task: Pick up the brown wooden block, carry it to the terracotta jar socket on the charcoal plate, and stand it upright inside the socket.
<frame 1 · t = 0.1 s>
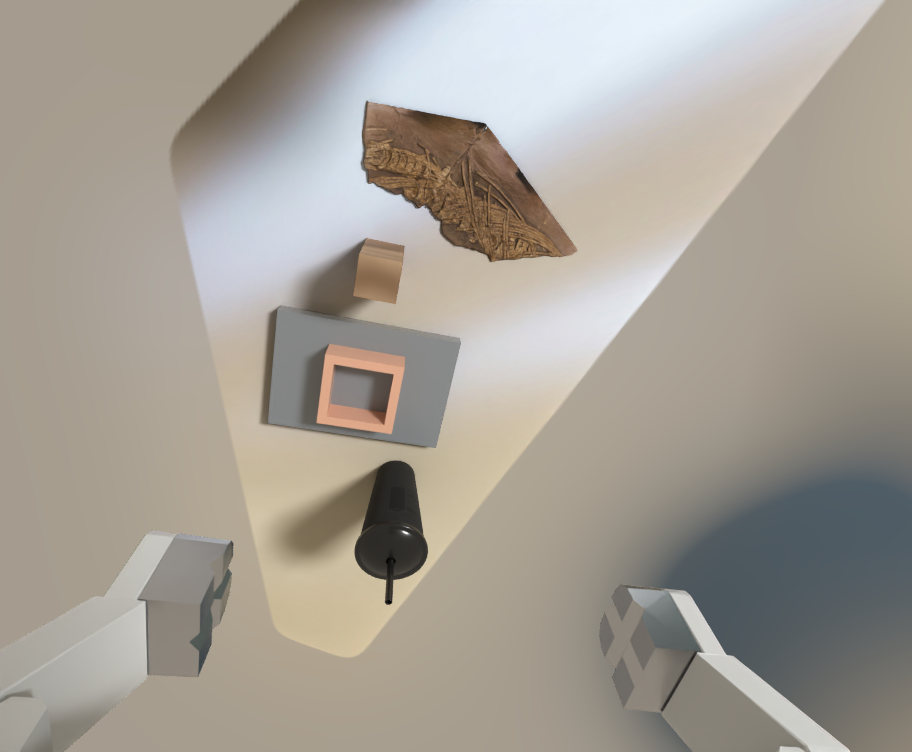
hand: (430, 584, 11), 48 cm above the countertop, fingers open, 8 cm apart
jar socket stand: (363, 378, 61), on the countertop
drinking cup: (395, 475, 67), on the countertop
brown wooden block: (382, 260, 56), on the countertop
wooden fragment: (474, 189, 54), on the countertop
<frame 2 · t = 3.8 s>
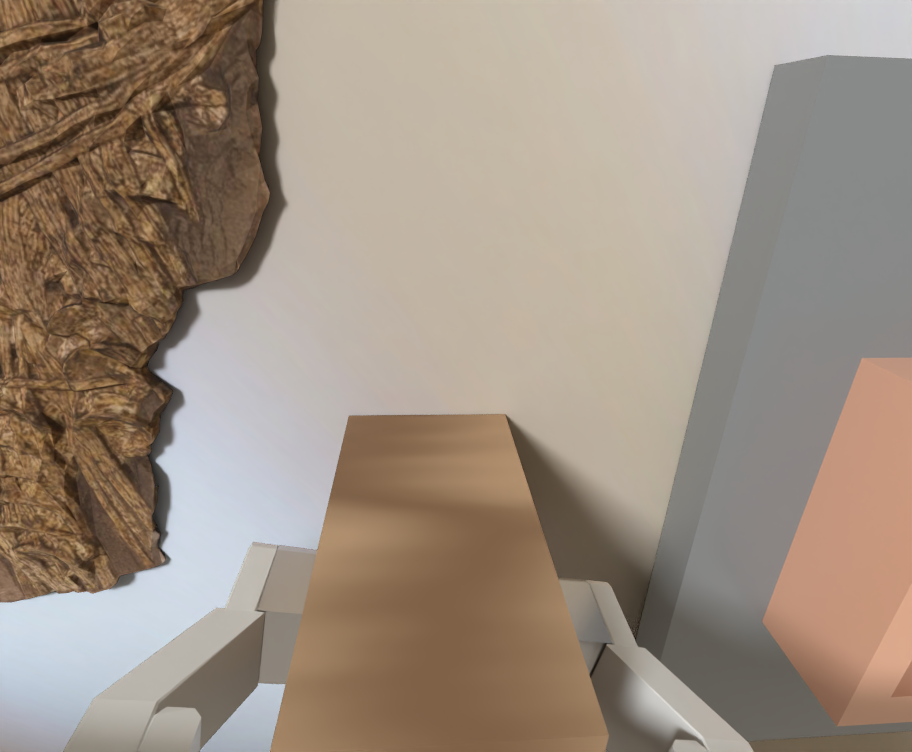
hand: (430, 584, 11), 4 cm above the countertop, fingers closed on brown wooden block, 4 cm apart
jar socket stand: (906, 470, 15), on the countertop
brown wooden block: (427, 479, 14), on the countertop, touching gripper
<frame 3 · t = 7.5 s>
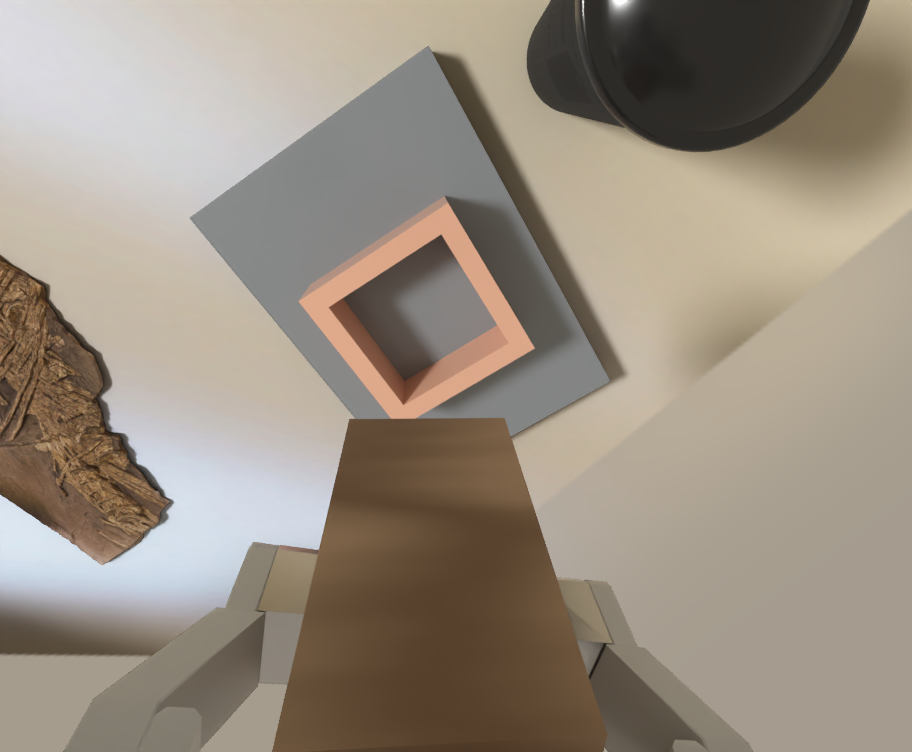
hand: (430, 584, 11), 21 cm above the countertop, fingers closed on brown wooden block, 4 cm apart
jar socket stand: (420, 299, 30), on the countertop
drinking cup: (575, 58, 26), on the countertop
brown wooden block: (427, 482, 14), point 17 cm above the countertop, touching gripper
wooden fragment: (20, 391, 31), on the countertop
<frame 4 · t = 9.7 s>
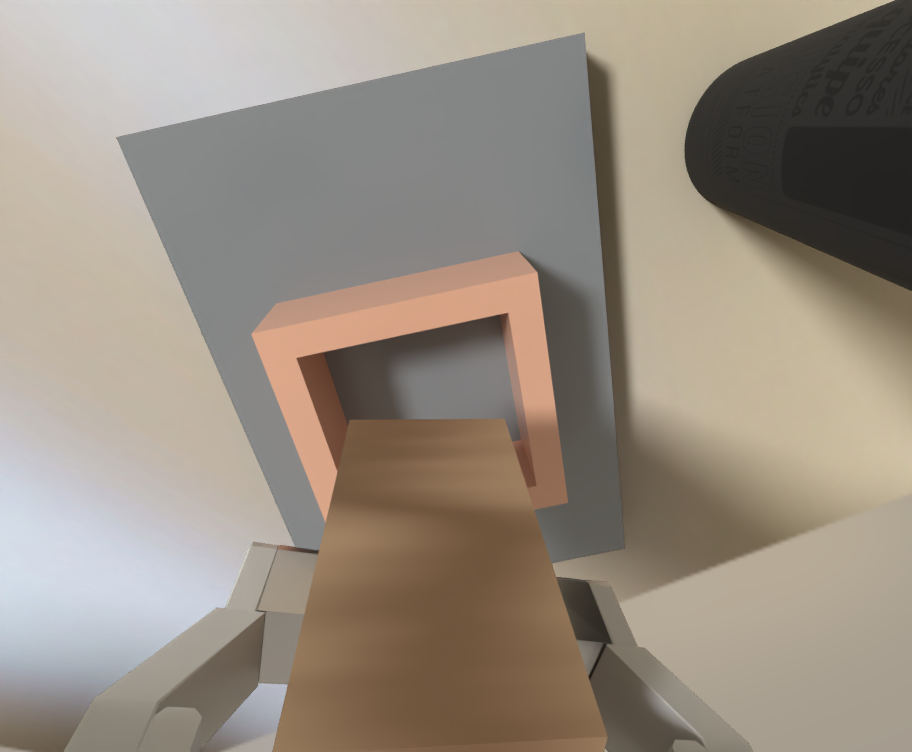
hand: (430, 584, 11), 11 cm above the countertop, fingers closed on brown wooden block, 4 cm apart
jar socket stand: (423, 369, 21), on the countertop
drinking cup: (749, 136, 18), on the countertop
brown wooden block: (427, 483, 14), point 7 cm above the countertop, touching gripper
when the fingers open (6 cm above the countertop, at t = 11.4 s): brown wooden block stays where it is, resting on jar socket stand.
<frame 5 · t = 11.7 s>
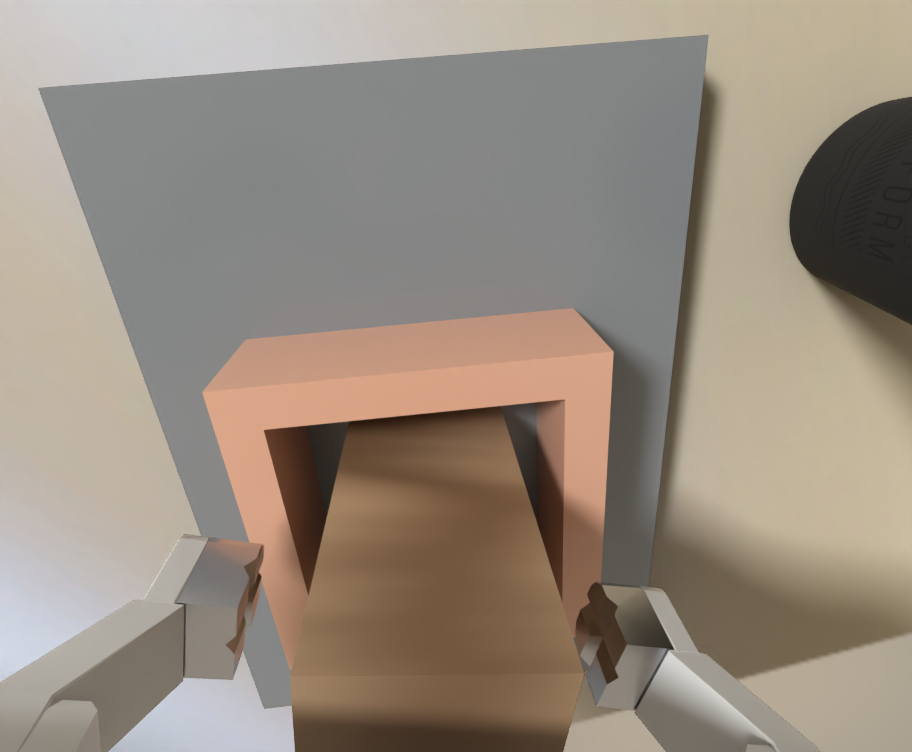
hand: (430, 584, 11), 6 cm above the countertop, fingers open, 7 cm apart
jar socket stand: (426, 433, 16), on the countertop
drinking cup: (869, 197, 15), on the countertop
brown wooden block: (423, 463, 15), point 1 cm above the countertop, touching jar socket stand
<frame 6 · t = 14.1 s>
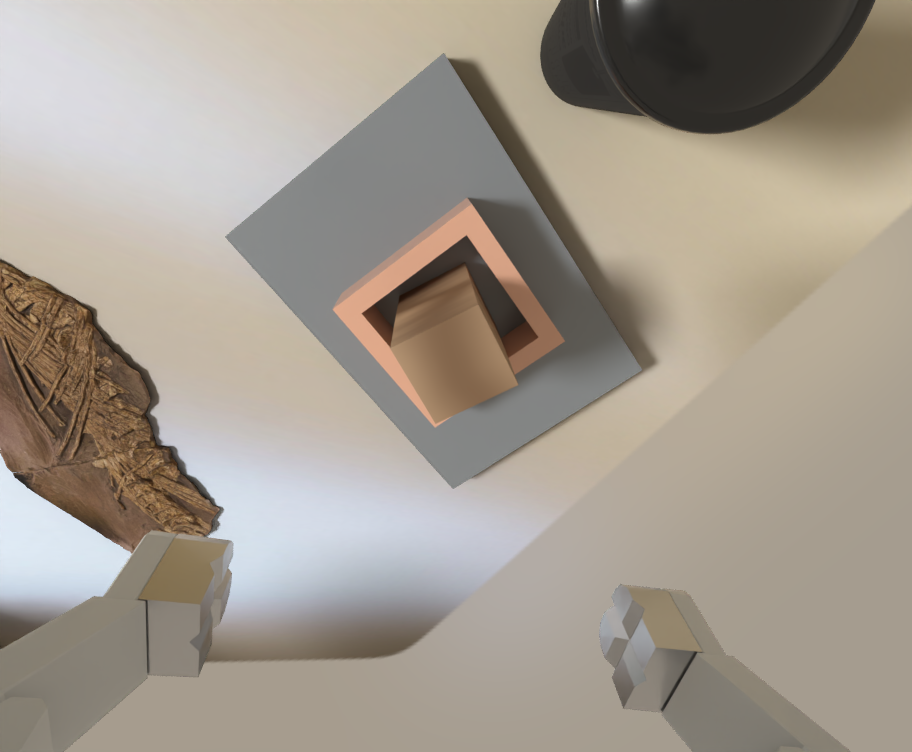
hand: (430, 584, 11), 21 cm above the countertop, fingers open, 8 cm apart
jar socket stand: (448, 301, 30), on the countertop
drinking cup: (588, 52, 26), on the countertop
brown wooden block: (448, 310, 29), point 1 cm above the countertop, touching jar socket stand
wooden fragment: (76, 412, 33), on the countertop
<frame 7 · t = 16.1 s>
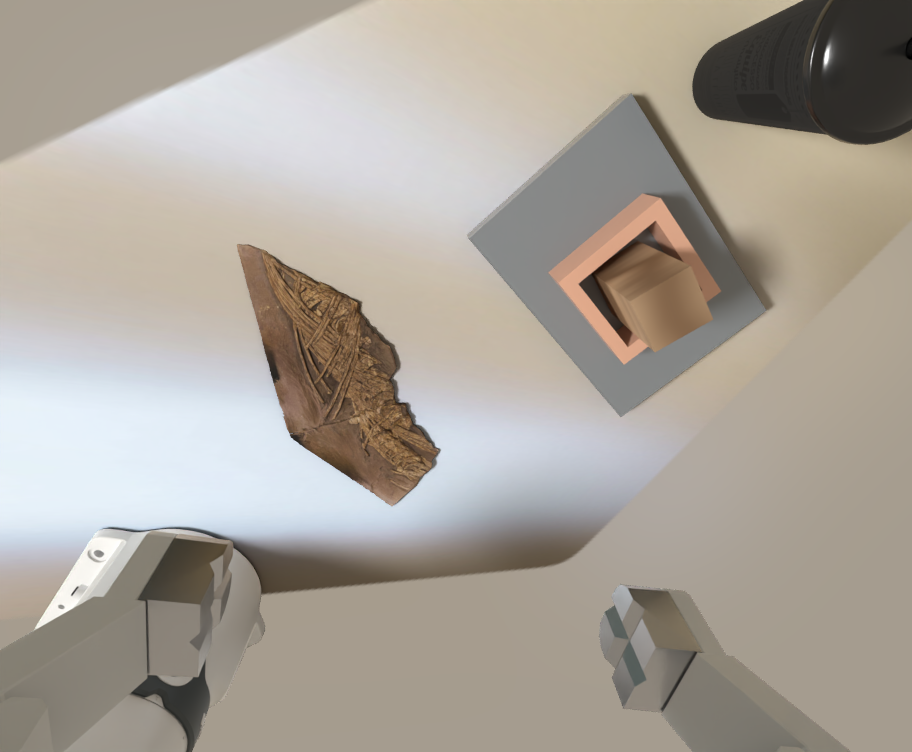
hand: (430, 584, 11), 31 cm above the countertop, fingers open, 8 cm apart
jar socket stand: (618, 271, 41), on the countertop
drinking cup: (725, 80, 36), on the countertop
brown wooden block: (624, 278, 39), point 1 cm above the countertop, touching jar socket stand
wooden fragment: (336, 383, 43), on the countertop
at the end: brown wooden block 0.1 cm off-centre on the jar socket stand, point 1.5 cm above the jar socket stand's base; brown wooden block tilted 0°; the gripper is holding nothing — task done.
